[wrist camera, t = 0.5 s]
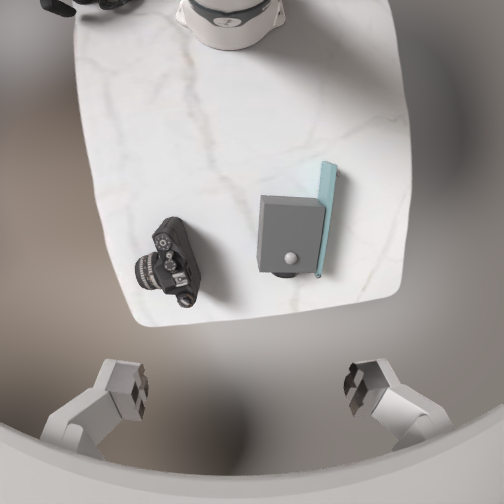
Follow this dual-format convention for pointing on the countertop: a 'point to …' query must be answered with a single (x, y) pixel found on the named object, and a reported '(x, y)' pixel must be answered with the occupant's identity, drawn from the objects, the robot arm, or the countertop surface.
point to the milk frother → (53, 5)
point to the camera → (170, 264)
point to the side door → (326, 207)
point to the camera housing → (289, 235)
